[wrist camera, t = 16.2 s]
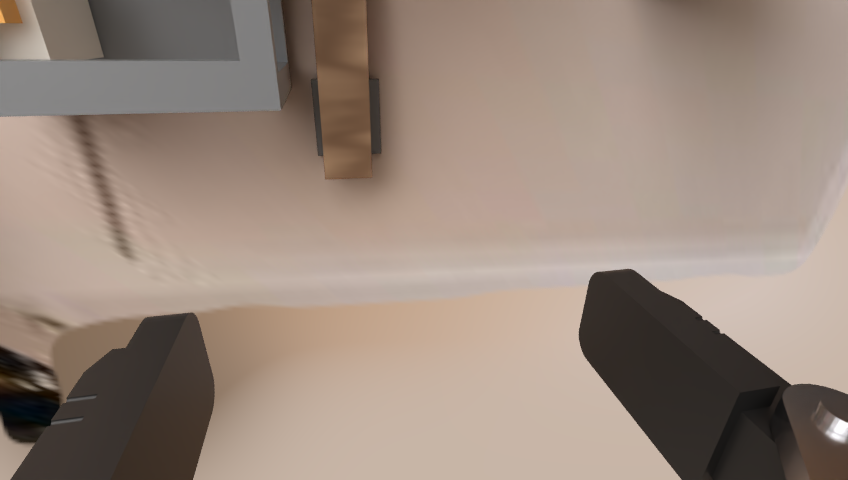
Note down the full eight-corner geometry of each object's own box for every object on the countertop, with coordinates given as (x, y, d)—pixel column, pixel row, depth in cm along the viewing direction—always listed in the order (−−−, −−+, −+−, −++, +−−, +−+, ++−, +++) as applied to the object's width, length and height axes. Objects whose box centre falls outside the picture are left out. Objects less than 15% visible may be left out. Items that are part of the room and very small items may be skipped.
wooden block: (367, 166, 31) (359, -67, 26) (372, 177, 29) (363, -81, 23) (325, 168, 31) (306, -71, 25) (325, 179, 28) (304, -86, 23)
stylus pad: (378, 78, 30) (378, 79, 29) (380, 151, 32) (380, 153, 31) (311, 79, 29) (310, 79, 28) (318, 154, 31) (318, 155, 31)
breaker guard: (272, -80, 25) (250, -128, 17) (291, 87, 29) (280, 110, 21) (-42, -99, 22) (-240, -166, 14) (27, 90, 26) (-98, 118, 18)
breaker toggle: (73, -52, 23) (-14, -79, 17) (103, 57, 25) (37, 66, 19) (5, -55, 22) (-108, -83, 16) (43, 56, 24) (-45, 67, 19)
